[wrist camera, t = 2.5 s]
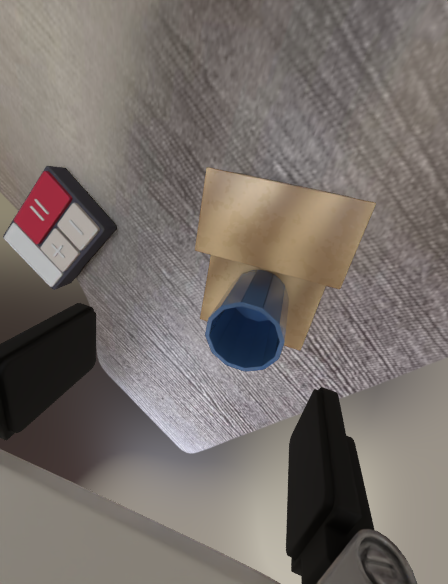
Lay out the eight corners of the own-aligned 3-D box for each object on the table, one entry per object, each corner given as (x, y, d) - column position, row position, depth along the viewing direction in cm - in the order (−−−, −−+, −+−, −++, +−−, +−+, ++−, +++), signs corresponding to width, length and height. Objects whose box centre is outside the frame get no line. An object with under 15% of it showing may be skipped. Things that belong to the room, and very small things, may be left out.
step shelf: (351, 195, 29) (376, 203, 19) (300, 330, 37) (300, 384, 27) (236, 171, 31) (206, 167, 21) (211, 303, 39) (181, 344, 29)
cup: (295, 277, 29) (293, 317, 21) (279, 328, 32) (271, 380, 24) (237, 262, 30) (212, 293, 22) (226, 312, 33) (200, 356, 25)
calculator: (101, 230, 35) (49, 292, 41) (120, 226, 39) (70, 284, 45) (41, 163, 34) (-4, 238, 39) (67, 166, 37) (23, 233, 43)
